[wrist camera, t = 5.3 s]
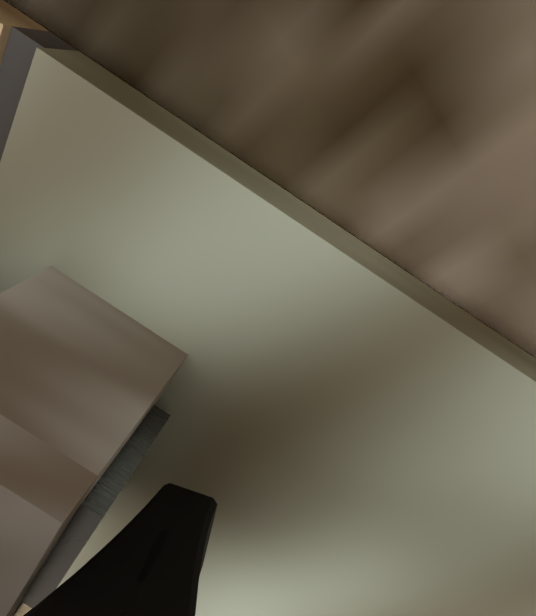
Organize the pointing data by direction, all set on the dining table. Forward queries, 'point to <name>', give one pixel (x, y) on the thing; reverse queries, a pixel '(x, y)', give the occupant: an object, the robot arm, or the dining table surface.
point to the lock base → (240, 369)
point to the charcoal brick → (95, 507)
